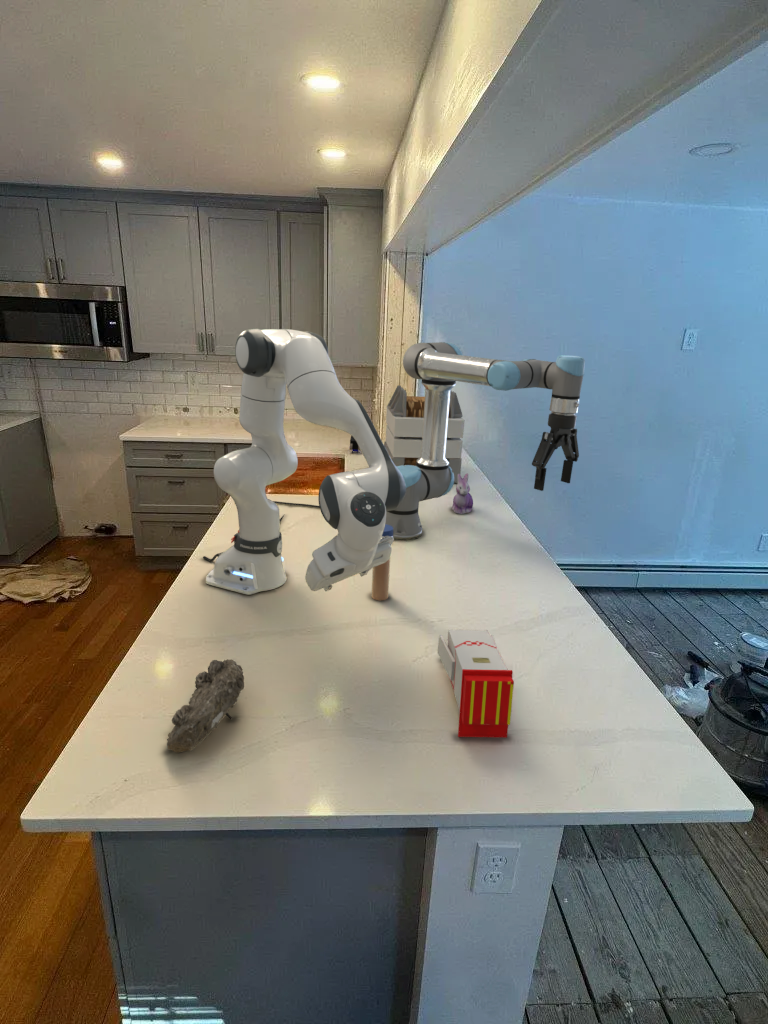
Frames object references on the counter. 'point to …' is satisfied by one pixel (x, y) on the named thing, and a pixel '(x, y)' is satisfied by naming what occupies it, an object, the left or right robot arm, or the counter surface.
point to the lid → (388, 531)
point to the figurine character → (354, 445)
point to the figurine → (462, 496)
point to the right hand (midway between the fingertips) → (552, 485)
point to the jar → (380, 581)
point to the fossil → (206, 705)
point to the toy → (478, 682)
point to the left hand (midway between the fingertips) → (344, 580)
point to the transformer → (420, 430)
